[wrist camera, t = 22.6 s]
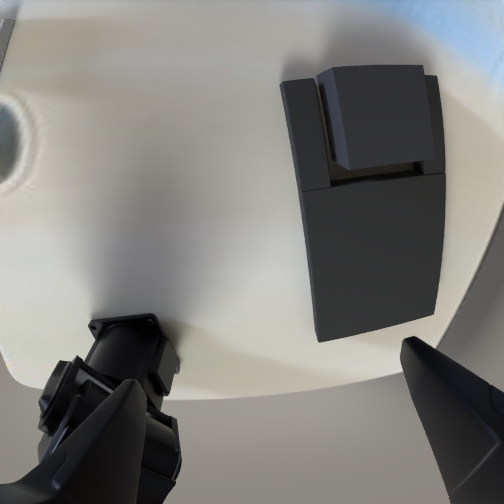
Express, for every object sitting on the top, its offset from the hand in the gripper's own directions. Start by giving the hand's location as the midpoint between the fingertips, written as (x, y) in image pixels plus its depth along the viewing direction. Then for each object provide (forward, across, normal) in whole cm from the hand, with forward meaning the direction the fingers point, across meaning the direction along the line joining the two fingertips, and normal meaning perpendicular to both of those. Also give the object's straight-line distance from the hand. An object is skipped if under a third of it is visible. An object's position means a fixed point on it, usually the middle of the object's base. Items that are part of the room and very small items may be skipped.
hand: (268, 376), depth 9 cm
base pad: (+12, -8, 0) cm, 14 cm away
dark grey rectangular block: (+12, -8, -7) cm, 16 cm away
